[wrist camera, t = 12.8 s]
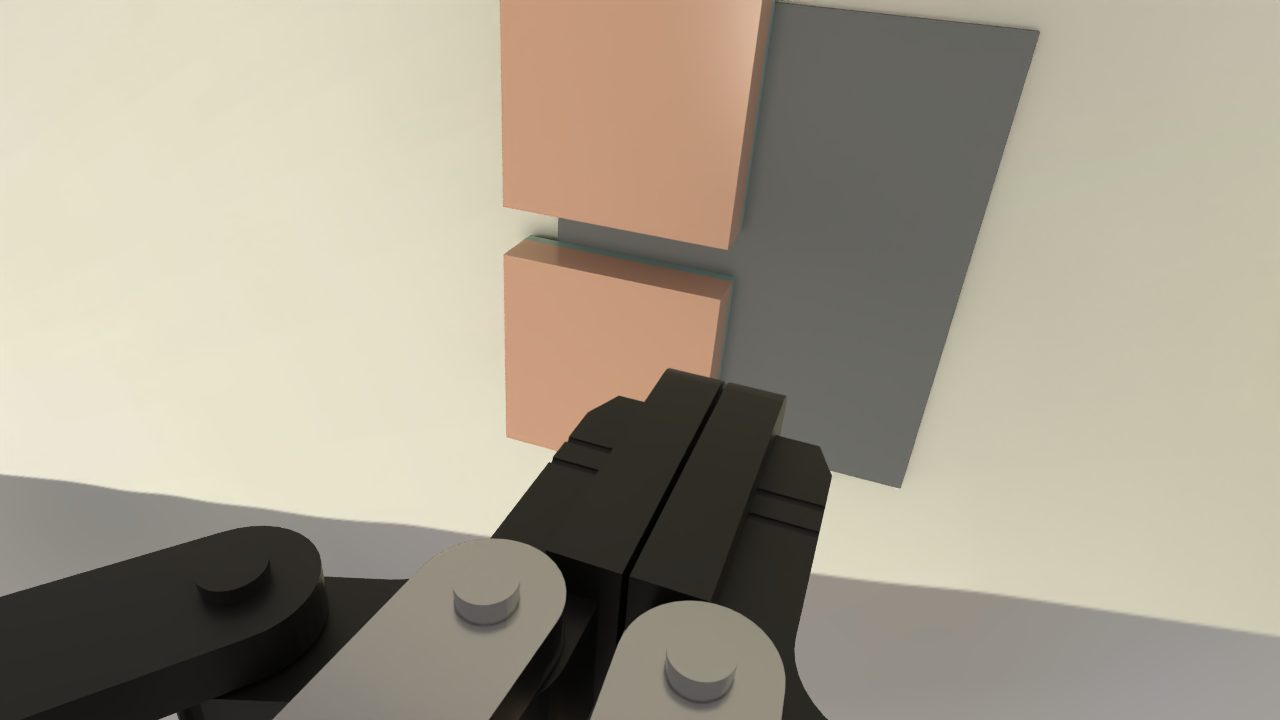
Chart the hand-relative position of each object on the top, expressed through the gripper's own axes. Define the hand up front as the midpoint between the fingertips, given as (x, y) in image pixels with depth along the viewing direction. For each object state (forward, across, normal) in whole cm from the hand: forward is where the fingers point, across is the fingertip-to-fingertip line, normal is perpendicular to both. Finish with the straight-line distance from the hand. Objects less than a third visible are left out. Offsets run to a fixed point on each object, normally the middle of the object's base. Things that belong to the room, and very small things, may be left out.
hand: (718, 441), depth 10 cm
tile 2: (+19, +4, +11) cm, 22 cm away
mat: (+21, +4, +6) cm, 22 cm away
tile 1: (+19, +4, 0) cm, 20 cm away
